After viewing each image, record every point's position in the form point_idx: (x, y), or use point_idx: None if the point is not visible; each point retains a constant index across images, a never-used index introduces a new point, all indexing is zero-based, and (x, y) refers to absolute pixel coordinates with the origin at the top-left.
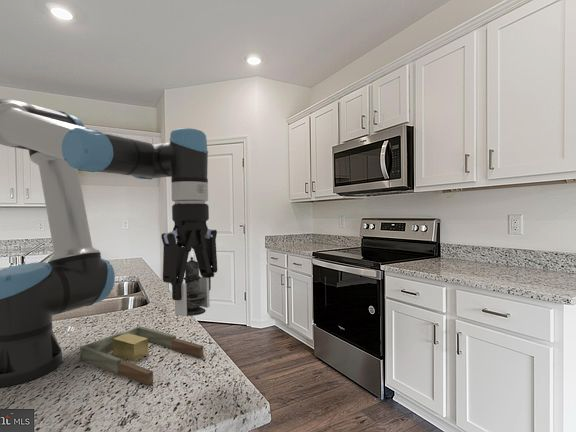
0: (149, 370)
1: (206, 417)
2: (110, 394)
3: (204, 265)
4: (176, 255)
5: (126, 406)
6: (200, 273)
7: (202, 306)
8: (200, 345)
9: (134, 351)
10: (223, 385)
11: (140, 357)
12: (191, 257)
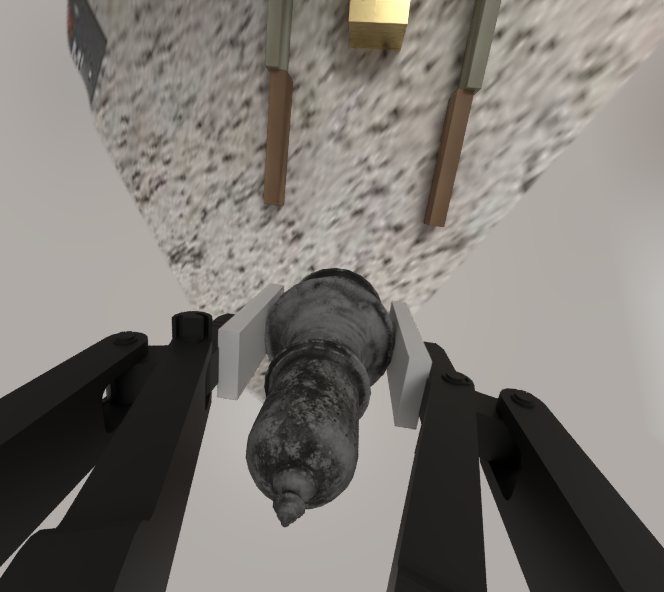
0: (275, 194)
1: None
2: (214, 152)
3: (409, 481)
4: (93, 483)
5: (205, 222)
6: (433, 379)
7: None
8: (444, 217)
9: (351, 33)
10: None
11: (371, 48)
12: (278, 516)
